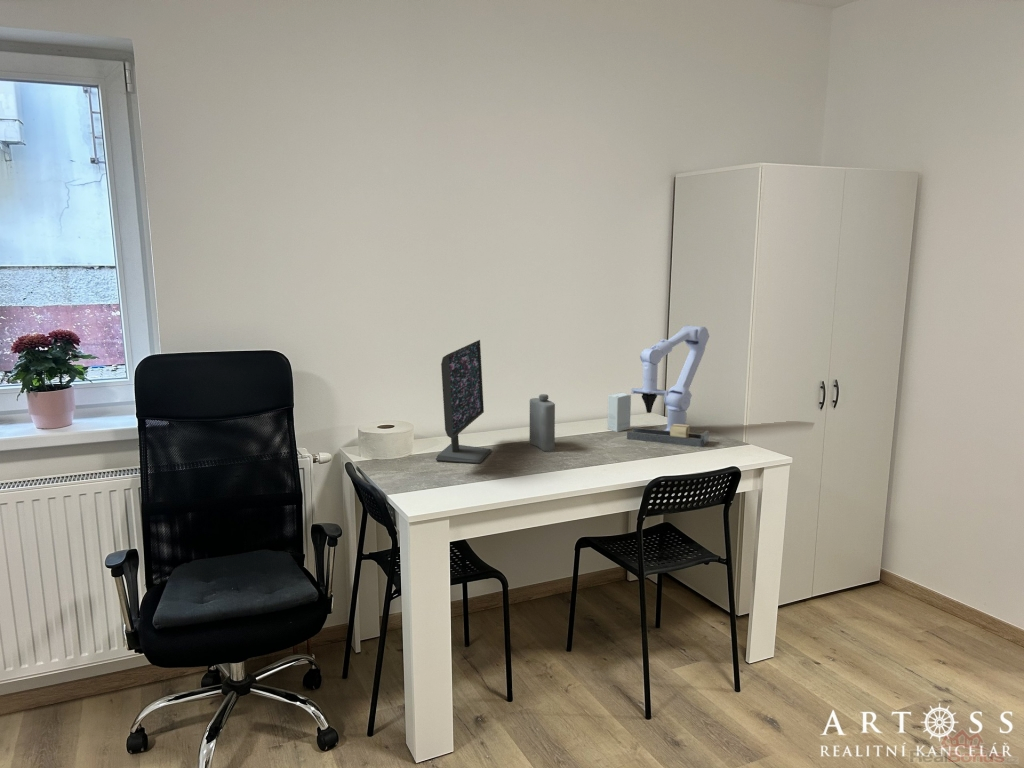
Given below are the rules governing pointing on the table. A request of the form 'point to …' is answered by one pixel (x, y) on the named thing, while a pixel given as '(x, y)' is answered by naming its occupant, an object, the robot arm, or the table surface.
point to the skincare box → (619, 412)
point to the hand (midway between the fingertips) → (649, 412)
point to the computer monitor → (462, 401)
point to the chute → (668, 437)
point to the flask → (542, 423)
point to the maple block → (679, 430)
